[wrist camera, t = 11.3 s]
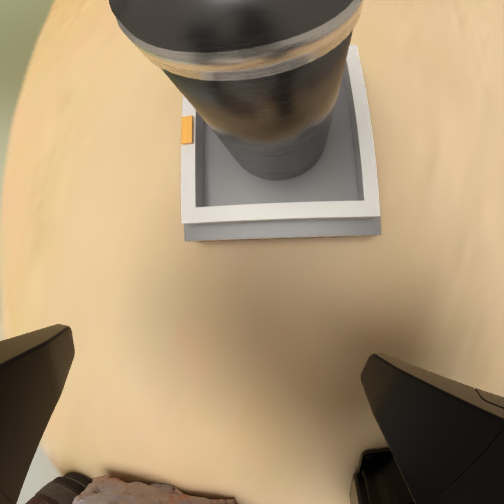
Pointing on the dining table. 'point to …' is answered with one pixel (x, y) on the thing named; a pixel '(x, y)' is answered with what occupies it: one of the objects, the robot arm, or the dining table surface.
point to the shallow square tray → (285, 191)
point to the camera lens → (61, 490)
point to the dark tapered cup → (252, 70)
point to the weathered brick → (137, 494)
